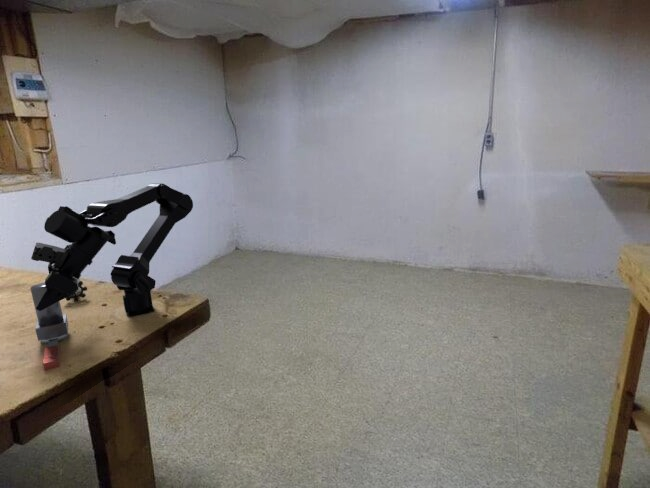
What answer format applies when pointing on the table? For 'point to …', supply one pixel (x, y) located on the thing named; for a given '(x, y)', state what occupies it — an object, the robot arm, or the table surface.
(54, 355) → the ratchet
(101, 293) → the table surface
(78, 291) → the valve
